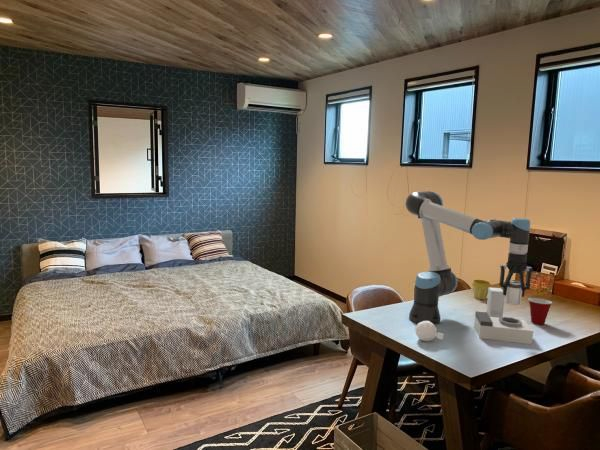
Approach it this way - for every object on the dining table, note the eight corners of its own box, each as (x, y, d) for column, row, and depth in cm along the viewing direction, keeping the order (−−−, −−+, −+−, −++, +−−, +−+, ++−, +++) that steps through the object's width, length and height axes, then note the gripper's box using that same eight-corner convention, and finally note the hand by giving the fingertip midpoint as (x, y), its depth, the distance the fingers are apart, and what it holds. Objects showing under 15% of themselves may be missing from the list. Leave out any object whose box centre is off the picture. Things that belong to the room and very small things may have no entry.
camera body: (479, 338, 203) (480, 321, 202) (474, 327, 217) (475, 311, 216) (531, 344, 199) (533, 326, 198) (523, 332, 212) (525, 316, 211)
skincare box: (502, 322, 225) (505, 292, 223) (488, 321, 227) (491, 291, 224) (498, 316, 233) (501, 287, 231) (485, 315, 235) (488, 286, 232)
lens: (507, 304, 203) (510, 282, 202) (505, 301, 208) (507, 279, 206) (519, 305, 202) (522, 283, 200) (517, 302, 207) (519, 280, 205)
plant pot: (491, 297, 268) (492, 281, 267) (487, 301, 260) (489, 284, 258) (472, 293, 274) (474, 278, 272) (469, 297, 265) (470, 281, 264)
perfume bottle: (411, 338, 195) (440, 347, 190) (417, 317, 196) (445, 326, 191) (414, 337, 203) (441, 346, 198) (419, 317, 204) (446, 325, 199)
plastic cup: (546, 320, 230) (549, 298, 229) (552, 328, 220) (555, 304, 218) (523, 317, 233) (526, 295, 232) (527, 325, 223) (530, 301, 221)
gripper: (498, 252, 200) (493, 303, 203) (542, 255, 196) (536, 307, 199) (494, 249, 207) (489, 298, 210) (537, 252, 204) (531, 302, 207)
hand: (512, 302), depth 205 cm, fingers closed on lens, 5 cm apart
